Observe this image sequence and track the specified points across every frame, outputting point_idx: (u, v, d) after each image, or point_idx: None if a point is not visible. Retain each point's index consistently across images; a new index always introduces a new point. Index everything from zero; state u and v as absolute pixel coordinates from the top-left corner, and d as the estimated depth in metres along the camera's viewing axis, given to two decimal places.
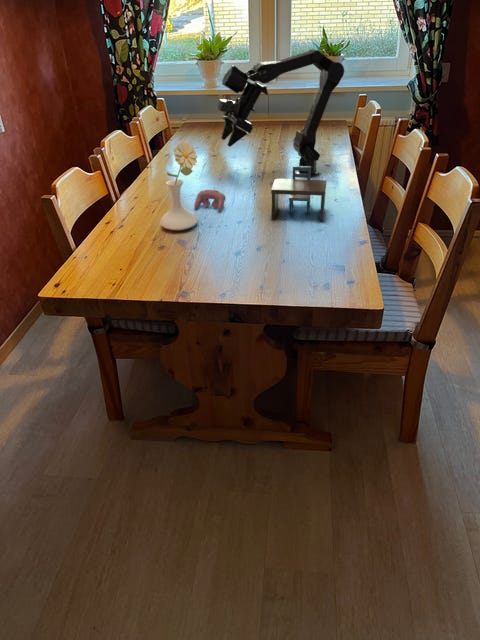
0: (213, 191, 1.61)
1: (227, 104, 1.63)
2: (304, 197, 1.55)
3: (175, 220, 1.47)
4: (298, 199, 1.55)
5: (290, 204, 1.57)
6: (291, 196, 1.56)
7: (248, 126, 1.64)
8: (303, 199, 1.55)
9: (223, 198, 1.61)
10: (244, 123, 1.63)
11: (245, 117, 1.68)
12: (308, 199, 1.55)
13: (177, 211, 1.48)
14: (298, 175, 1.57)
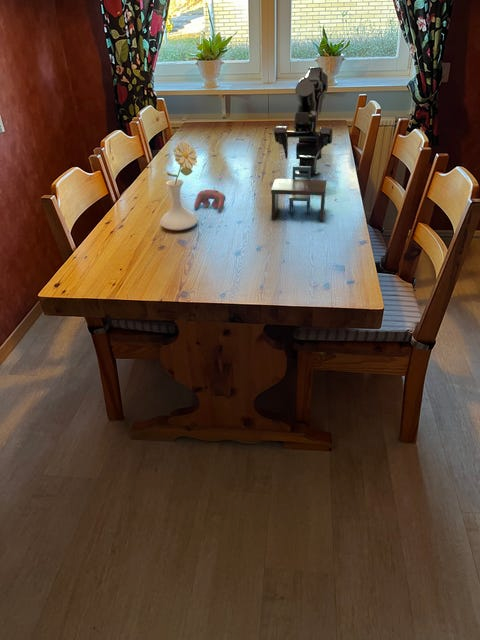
0: (213, 191, 1.61)
1: (316, 115, 1.55)
2: (304, 197, 1.55)
3: (175, 220, 1.47)
4: (298, 199, 1.55)
5: (290, 204, 1.57)
6: (291, 196, 1.56)
7: None
8: (303, 199, 1.55)
9: (223, 198, 1.61)
10: None
11: None
12: (308, 199, 1.55)
13: (177, 211, 1.48)
14: (298, 175, 1.57)
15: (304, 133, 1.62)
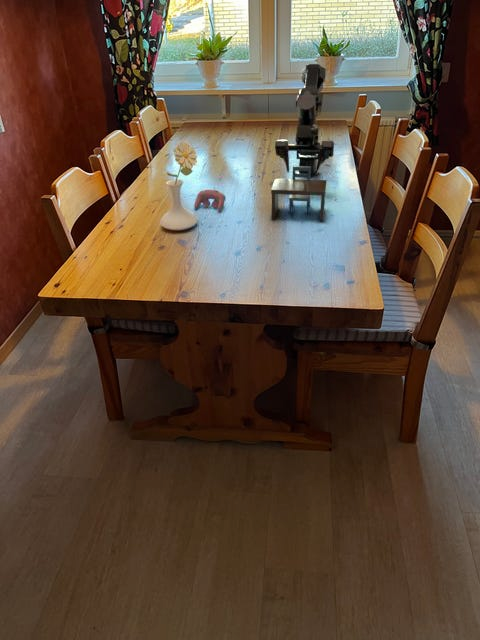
0: (213, 191, 1.61)
1: (318, 128, 1.54)
2: (304, 197, 1.55)
3: (175, 220, 1.47)
4: (298, 199, 1.55)
5: (290, 204, 1.57)
6: (291, 196, 1.56)
7: None
8: (303, 199, 1.55)
9: (223, 198, 1.61)
10: None
11: None
12: (308, 199, 1.55)
13: (177, 211, 1.48)
14: (298, 175, 1.57)
15: (305, 146, 1.60)
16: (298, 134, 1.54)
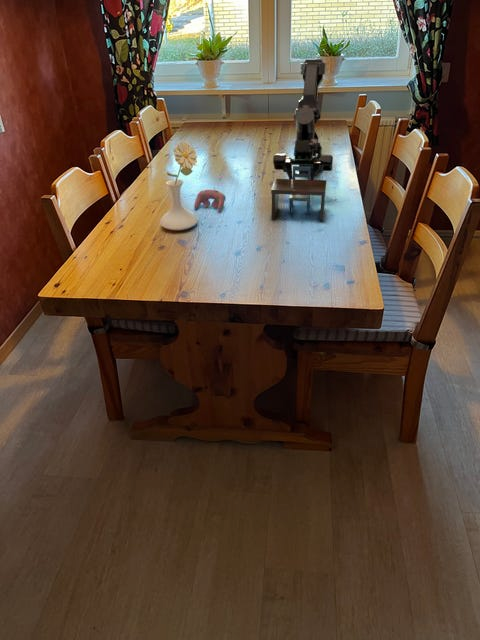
0: (213, 191, 1.61)
1: (316, 143, 1.52)
2: (304, 197, 1.55)
3: (175, 220, 1.47)
4: (298, 199, 1.55)
5: (290, 204, 1.57)
6: (291, 196, 1.56)
7: None
8: (303, 199, 1.55)
9: (223, 198, 1.61)
10: None
11: None
12: (308, 199, 1.55)
13: (177, 211, 1.48)
14: (298, 175, 1.57)
15: (304, 161, 1.58)
16: (296, 149, 1.52)
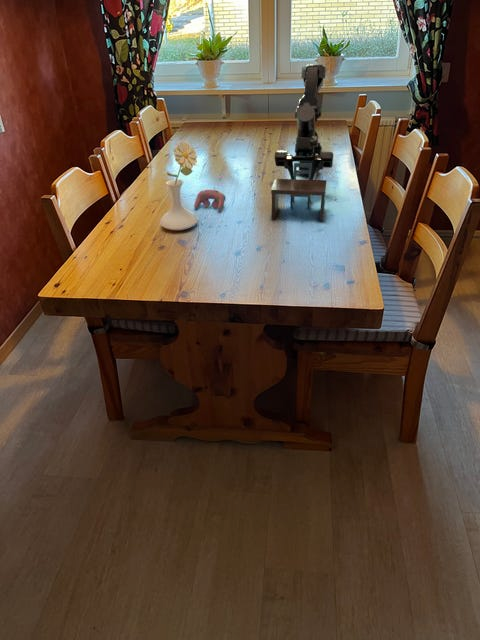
0: (213, 191, 1.61)
1: (317, 140, 1.55)
2: None
3: (175, 220, 1.47)
4: (299, 195, 1.58)
5: (291, 200, 1.59)
6: None
7: None
8: (304, 195, 1.58)
9: (223, 198, 1.61)
10: None
11: None
12: (309, 195, 1.57)
13: (177, 211, 1.48)
14: (299, 171, 1.59)
15: (305, 157, 1.61)
16: (297, 146, 1.55)
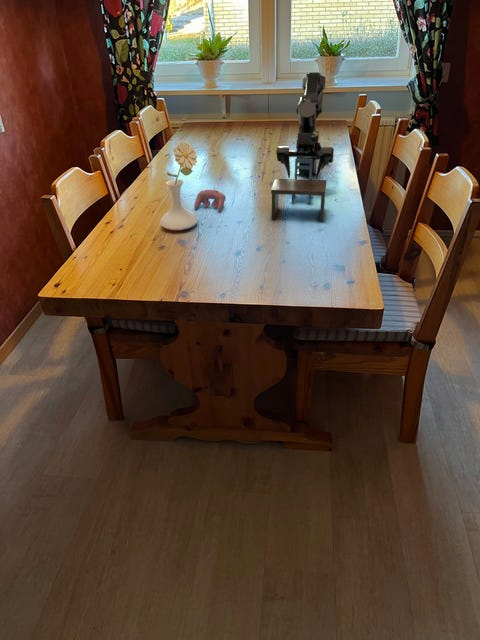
0: (213, 191, 1.61)
1: (318, 135, 1.58)
2: None
3: (175, 220, 1.47)
4: None
5: (292, 195, 1.63)
6: None
7: None
8: None
9: (223, 198, 1.61)
10: (333, 152, 1.63)
11: None
12: None
13: (177, 211, 1.48)
14: (300, 167, 1.63)
15: (306, 153, 1.64)
16: (299, 141, 1.58)
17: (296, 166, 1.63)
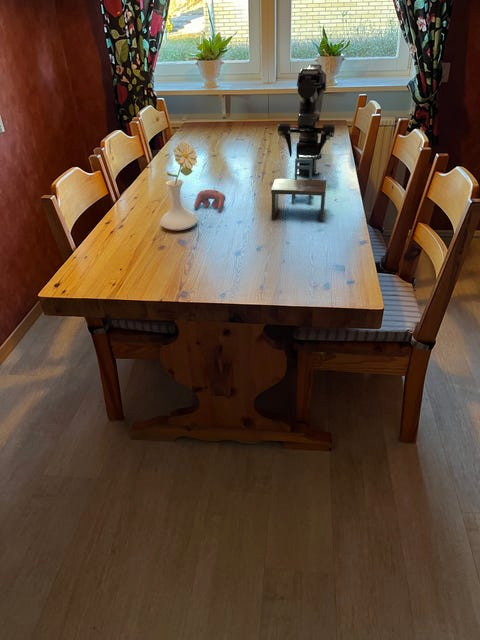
0: (213, 191, 1.61)
1: (319, 116, 1.58)
2: None
3: (175, 220, 1.47)
4: None
5: (292, 195, 1.63)
6: None
7: None
8: None
9: (223, 198, 1.61)
10: None
11: None
12: None
13: (177, 211, 1.48)
14: (300, 167, 1.63)
15: (307, 130, 1.65)
16: (300, 123, 1.59)
17: (296, 166, 1.63)
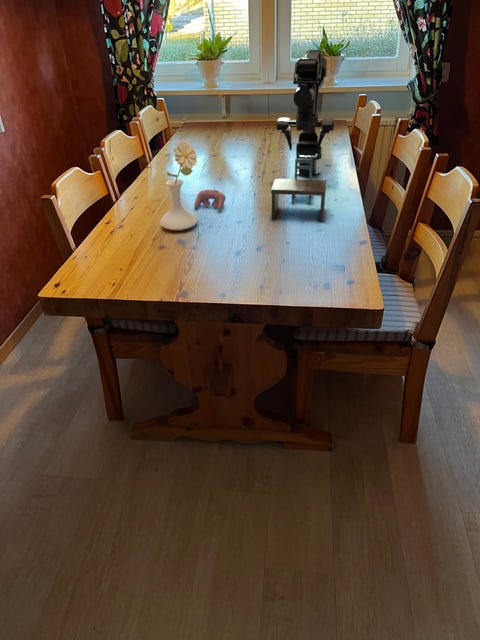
0: (213, 191, 1.61)
1: (317, 120, 1.57)
2: None
3: (175, 220, 1.47)
4: None
5: (292, 195, 1.63)
6: None
7: None
8: None
9: (223, 198, 1.61)
10: (333, 122, 1.62)
11: None
12: None
13: (177, 211, 1.48)
14: (300, 167, 1.63)
15: None
16: (298, 129, 1.59)
17: (296, 166, 1.63)
